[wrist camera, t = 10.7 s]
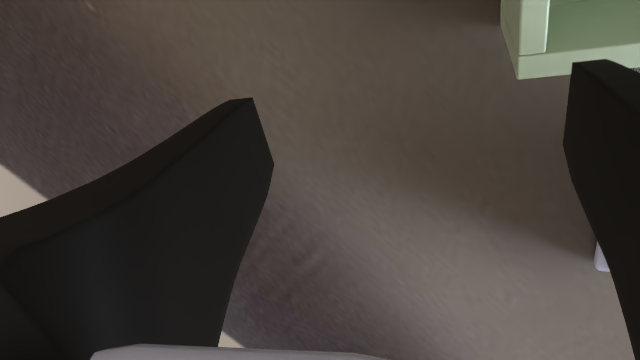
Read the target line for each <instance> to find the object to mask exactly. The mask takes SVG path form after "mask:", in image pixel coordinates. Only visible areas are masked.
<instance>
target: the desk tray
mask: <svg viewBox="0 0 640 360" xmlns="http://www.w3.org/2000/svg"><path fill="white" fill-rule="evenodd" d="M500 26H501V29H502V33H503V36H504V39H505V42H506V46H507V49H508V52H509V55H510V58H511V61H512V65H513V68H514V71H515V74H516V77H517V79H529V78H539V77H548V76H558V75H568V74H571V70H572V62H581V61H590V60H599V59H608V60H611V61H614V62H616V63H619V64H621V65H623V66H625V67H628V68H635V67H640V0H501V14H500Z"/></svg>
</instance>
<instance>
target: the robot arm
mask: <svg viewBox="0 0 640 360" xmlns="http://www.w3.org/2000/svg"><path fill="white" fill-rule="evenodd" d="M563 147H564V151H565V155H566V160H567V164H568V168H569V172H570V176H571V179H572V182H573V185H574V187H575V190H576V192H577V195H578V197H579V199H580V202H581V204H582V206H583V209H584V211H585V213H586V216H587V218H588V220H589V223H590V225H591V227H592V230H593V232H594V234H595V237H596V239H597V245H596V250H595V256H594V265H595V268H596V269H597V270H600V271H610V273H611V275H612V278H613V281H614V284H615V288H616V291H617V295H618V298H619V301H620V305H621V308H622V312H623V315H624V319H625V322H626V326H627V330H628V333H629V337H630V341H631V345H632V349H633V352H634V356H635V360H640V73H638V72H636V71H634V70H632V69H630V68H628V67H625V66H623V65H621V64H619V63H616V62H614V61H611V60H608V59H599V60H590V61H581V62H572V70H571V79H570V88H569V96H568V105H567V113H566V122H565V131H564V139H563ZM273 167H274V162H273V159H272V156H271V153H270V150H269V147H268V144H267V141H266V137H265V134H264V131H263V128H262V125H261V122H260V119H259V116H258V113H257V110H256V107H255V104H254V101H253V98H243V99H234V100H229V101H227V102H224V103H222V104H221V105H219V106H217V107H215V108H214V109H212V110H210V111H209V112H207V113H206V114H204V115H203V116H201V117H200V118H198V119H197V120H195V121H194V122H192V123H191V124H189V125H188V126H186V127H185V128H183V129H182V130H180V131H179V132H177V133H176V134H174V135H173V136H171V137H170V138H168V139H166V140H165V141H163V142H162V143H160V144H158V145H157V146H155V147H154V148H152V149H150V150H149V151H147V152H146V153H144V154H142V155H141V156H139V157H138V158H136V159H134V160H132V161H131V162H129V163H127V164H125V165H123V166H122V167H120V168H118V169H116V170H114V171H112V172H110V173H108V174H106V175H104V176H102V177H100V178H98V179H96V180H94V181H92V182H90V183H88V184H85V185H83V186H81V187H78V188H76V189H74V190H71V191H69V192H67V193H65V194H62V195H60V196H58V197H55V198H53V199H51V200H48V201H45V202H43V203H40V204H37V205H35V206H32V207H29V208H27V209H24V210H21V211H18V212H15V213H12V214H9V215H6V216H3V217H0V360H389V359H384V358H379V357H373V356H368V355H363V354H357V353H343V352H320V351H297V350H274V349H251V348H227V347H218V343H219V339H220V335H221V331H222V326H223V322H224V318H225V314H226V310H227V306H228V303H229V299H230V295H231V291H232V288H233V284H234V281H235V278H236V275H237V272H238V269H239V266H240V263H241V261H242V258H243V256H244V253H245V251H246V248H247V246H248V243H249V241H250V239H251V236H252V234H253V231H254V229H255V226H256V224H257V221H258V219H259V216H260V213H261V211H262V208H263V206H264V203H265V200H266V198H267V194H268V190H269V186H270V182H271V177H272V172H273Z"/></svg>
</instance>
